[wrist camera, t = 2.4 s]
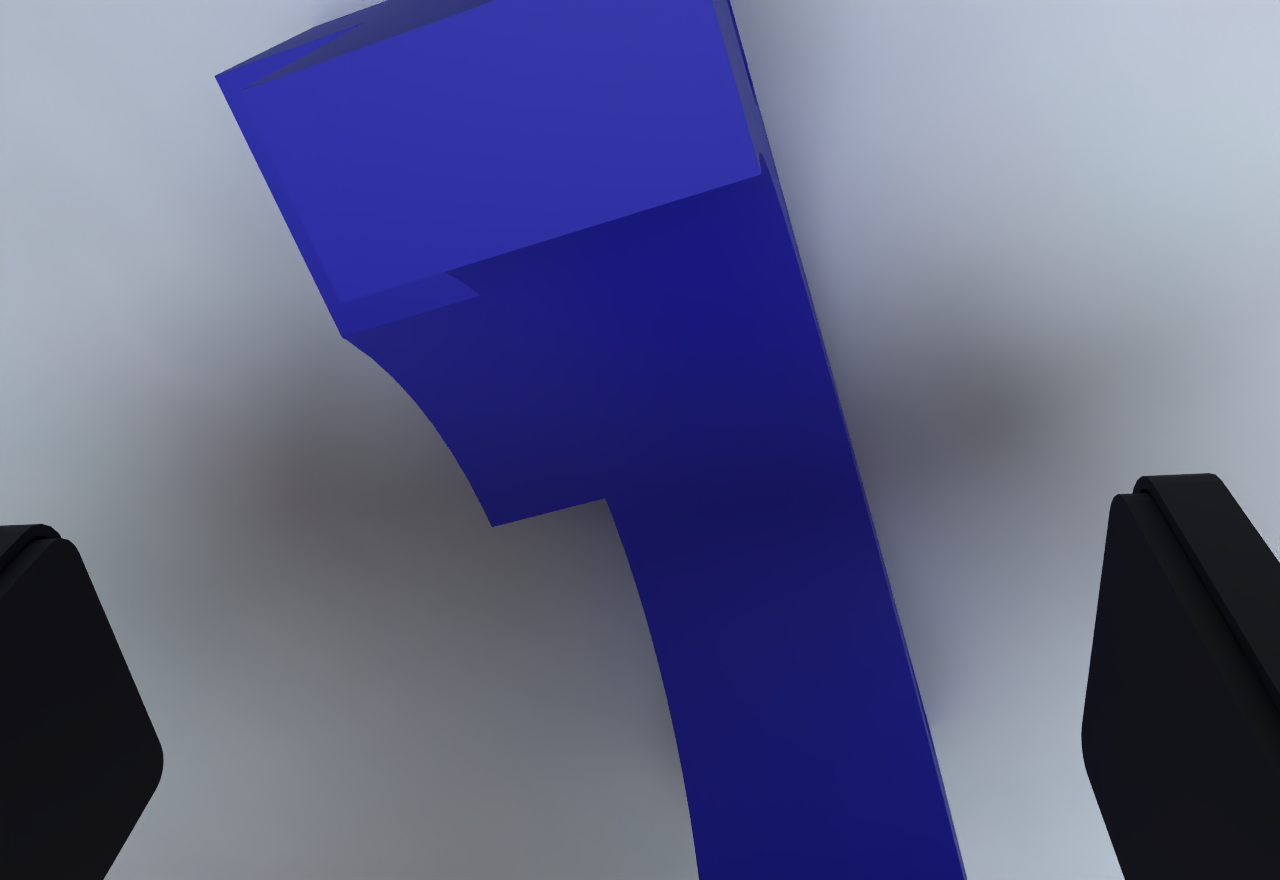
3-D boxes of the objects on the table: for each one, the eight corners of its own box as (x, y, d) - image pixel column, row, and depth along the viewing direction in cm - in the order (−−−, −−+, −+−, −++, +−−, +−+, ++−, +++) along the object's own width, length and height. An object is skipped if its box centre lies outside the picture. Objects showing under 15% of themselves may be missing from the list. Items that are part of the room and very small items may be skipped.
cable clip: (316, 25, 13) (38, 162, 7) (698, -114, 12) (691, -70, 6) (647, 779, 18) (622, 1173, 13) (927, 721, 17) (1027, 1119, 12)
